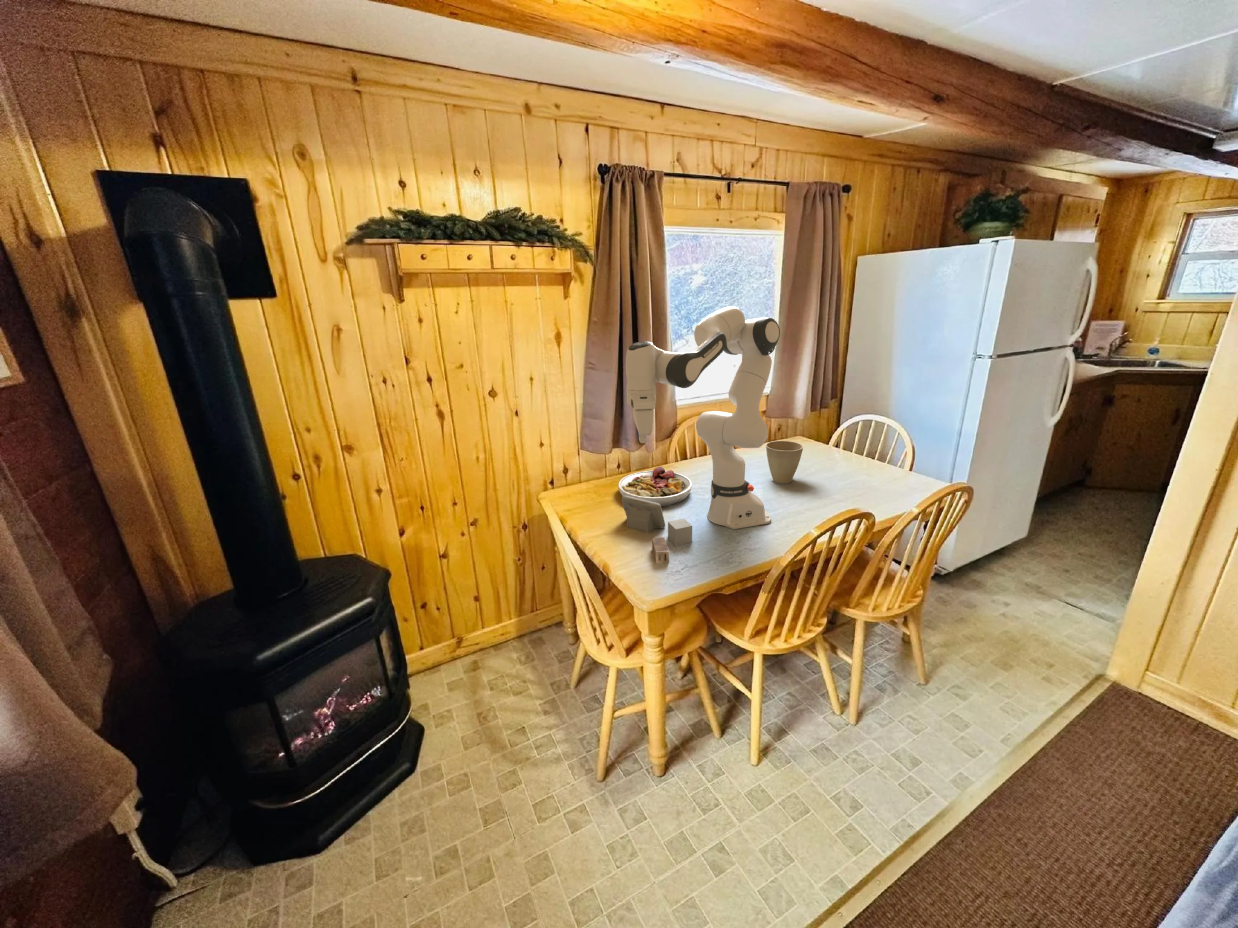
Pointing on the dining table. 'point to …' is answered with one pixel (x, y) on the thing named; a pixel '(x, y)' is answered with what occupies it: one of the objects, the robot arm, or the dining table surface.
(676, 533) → the grey cube
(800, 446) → the plant pot
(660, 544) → the walnut post
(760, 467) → the dining table surface
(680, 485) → the bowl
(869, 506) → the dining table surface
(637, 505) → the digital clock
